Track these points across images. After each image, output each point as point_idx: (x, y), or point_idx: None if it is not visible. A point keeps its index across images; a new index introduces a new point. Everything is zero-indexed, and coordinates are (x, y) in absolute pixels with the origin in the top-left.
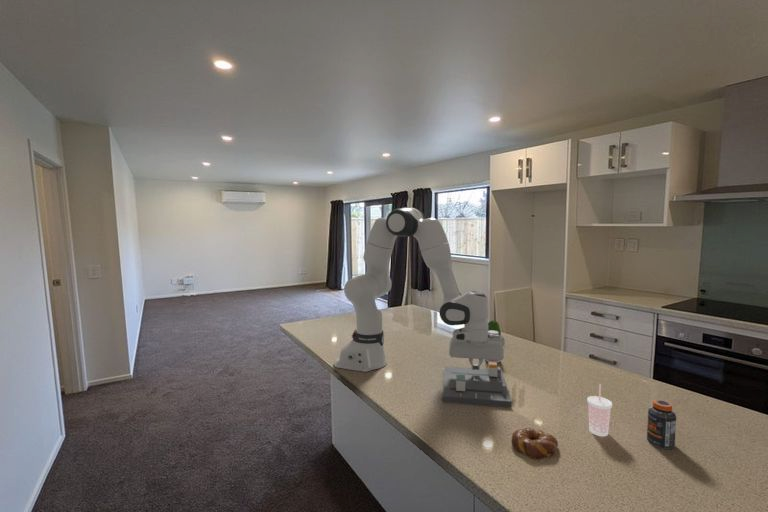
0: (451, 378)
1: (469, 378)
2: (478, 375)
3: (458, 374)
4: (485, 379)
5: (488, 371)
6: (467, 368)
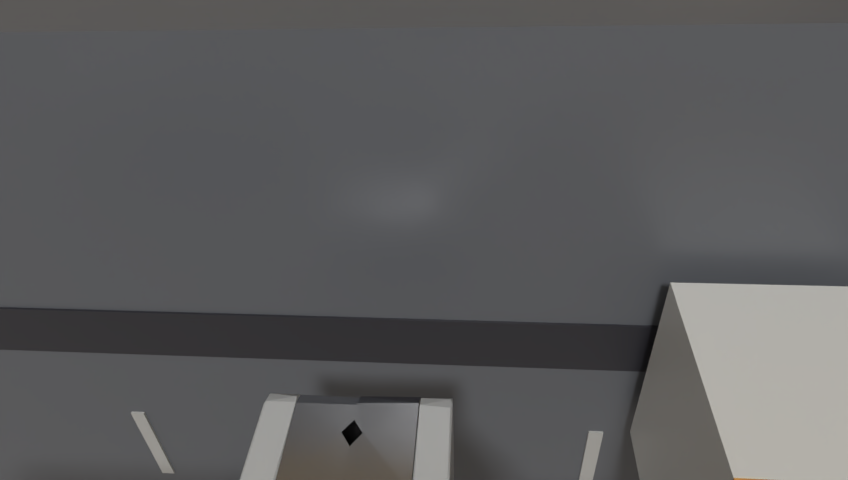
0: (49, 473)
1: None
2: (438, 375)
3: (85, 371)
4: (544, 470)
5: (665, 365)
6: (152, 78)
